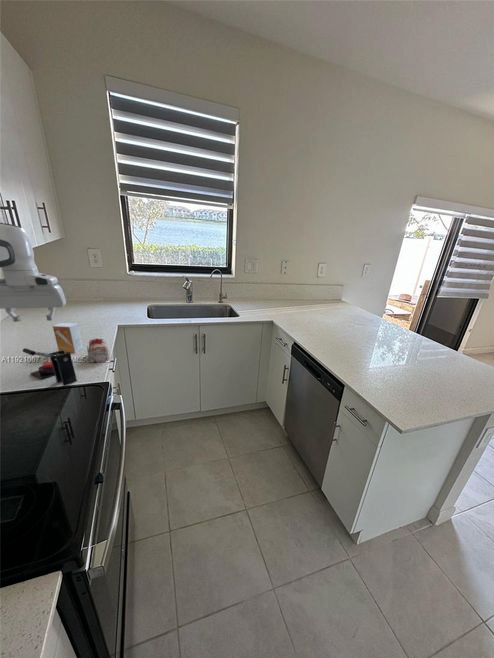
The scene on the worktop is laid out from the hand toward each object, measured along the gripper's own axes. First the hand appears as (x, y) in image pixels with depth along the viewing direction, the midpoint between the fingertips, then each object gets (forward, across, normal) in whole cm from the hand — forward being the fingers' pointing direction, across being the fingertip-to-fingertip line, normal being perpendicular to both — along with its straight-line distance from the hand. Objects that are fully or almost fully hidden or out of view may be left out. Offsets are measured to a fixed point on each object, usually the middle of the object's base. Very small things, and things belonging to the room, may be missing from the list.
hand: (34, 320), depth 98 cm
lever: (+12, +2, -4) cm, 13 cm away
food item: (+25, +12, +23) cm, 36 cm away
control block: (+25, -3, +9) cm, 26 cm away
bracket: (+25, +5, -1) cm, 25 cm away
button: (+21, -3, +9) cm, 23 cm away
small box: (+25, -3, +39) cm, 46 cm away
